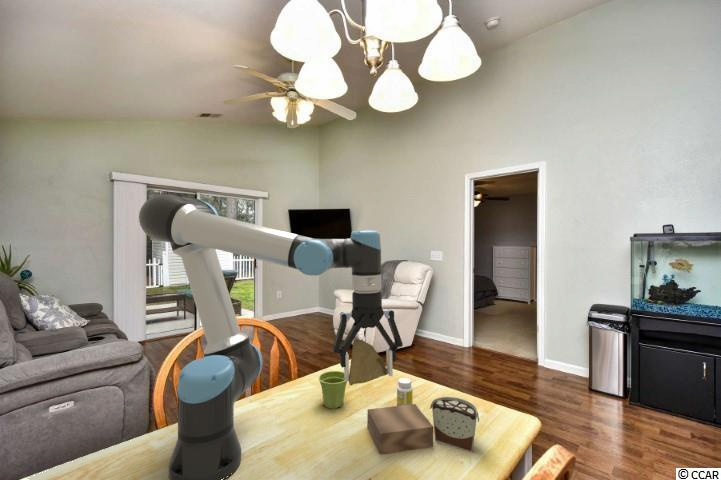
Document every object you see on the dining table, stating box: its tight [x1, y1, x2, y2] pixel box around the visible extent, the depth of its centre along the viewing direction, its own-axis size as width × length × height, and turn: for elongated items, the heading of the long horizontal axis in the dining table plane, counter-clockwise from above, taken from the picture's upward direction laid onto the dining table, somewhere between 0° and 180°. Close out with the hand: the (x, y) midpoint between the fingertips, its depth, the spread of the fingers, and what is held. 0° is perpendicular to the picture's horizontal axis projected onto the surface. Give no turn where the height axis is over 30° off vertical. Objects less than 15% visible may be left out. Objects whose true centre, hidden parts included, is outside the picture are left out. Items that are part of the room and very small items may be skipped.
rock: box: [348, 338, 388, 386], centre depth 88 cm, size 11×9×10 cm
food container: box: [429, 396, 480, 454], centre depth 90 cm, size 12×6×10 cm, turn 59°
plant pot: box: [318, 370, 348, 409], centre depth 108 cm, size 9×9×9 cm
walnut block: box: [366, 403, 434, 455], centre depth 91 cm, size 14×12×5 cm
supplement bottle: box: [396, 377, 413, 406], centre depth 106 cm, size 5×5×8 cm
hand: (368, 376), depth 89 cm, fingers closed on rock, 11 cm apart
